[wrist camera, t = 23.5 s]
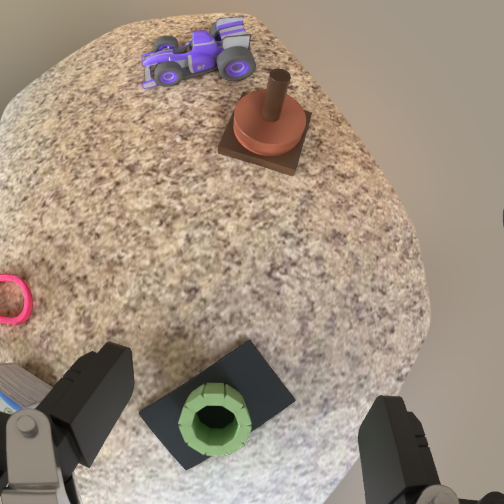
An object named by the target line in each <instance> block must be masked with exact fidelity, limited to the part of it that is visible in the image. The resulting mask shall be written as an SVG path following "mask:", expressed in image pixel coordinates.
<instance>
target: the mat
mask: <svg viewBox="0 0 504 504" xmlns="http://www.w3.org/2000/svg"><path fill="white" fill-rule="evenodd" d="M207 383H224V386H225V385H226V384H228V385H229V386H231V387H232V388H234V389H235V390H237V391H238V392H240V394H241V395H242V396H243V399H244V401H245V404H246V407H247V410H248V413H249V416H250V419H251V423H252V424H251V426H252V428H251V431H250V432H252V431H253V430H255V429H256V428H258V427H259V426H261V425H262V424H264V423H265V422H266V421H268V420H269V419H271V418H272V417H274V416H275V415H277V414H278V413H279V412H281V411H282V410H284V409H285V408H286V407H288V406H289V405H290V404H292V403H293V402H295V401H296V400H295V399H294V397H293V396H292V395H291V393H290V392H289V391H288V390H287V388H286V387H285V386H284V384H283V383H282V382H281V381H280V379H279V378H278V377H277V375H276V374H275V373H274V371H273V370H272V369H271V368H270V366H269V365H268V364H267V362H266V361H265V360H264V358H263V357H262V356H261V354H260V353H259V352H258V350H257V349H256V348H255V346H254V345H253V343H252V342H251V341H250V340H248V341H246V342H245V343H244V344H242V345H241V346H239V347H238V348H236V349H235V350H234V351H232V352H231V353H229V354H228V355H226V356H225V357H223V358H222V359H221V360H219V361H218V362H216V363H215V364H213V365H212V366H210V367H209V368H207V369H206V370H204V371H203V372H201V373H200V374H198V375H197V376H195V377H194V378H192V379H191V380H189V381H188V382H186V383H185V384H183V385H182V386H180V387H179V388H177V389H175V390H174V391H172V392H171V393H169V394H168V395H166V396H164V397H163V398H161V399H160V400H158V401H156V402H155V403H153V404H152V405H150V406H148V407H147V408H145V409H144V410H142V411H140V412H139V415H140V416H141V418H142V419H143V420H144V421H145V423H146V424H147V425H148V427H149V428H150V429H151V430H152V432H153V433H154V434H155V435H156V437H157V438H158V439H159V440H160V441H161V443H162V444H163V445H164V446H165V447H166V449H167V450H168V451H169V452H170V453H171V454H172V455H173V457H174V458H175V459H176V460H177V461H178V462H179V463H180V464H181V466H182V467H183V468H184V469H185V470H188V469H190V468H192V467H194V466H195V465H197V464H199V463H201V462H202V461H204V460H206V459H208V458H209V457H211V456H207V455H206V453H205V454H204V455H203V454H201V453H200V452H198V451H196V450H195V449H193V448H192V447H190V446H188V442H187V443H186V442H185V440H184V438H183V436H182V433H181V431H180V429H179V425H180V424H178V423H179V419H180V416H181V413H182V410H183V407H184V405H185V403H186V400H187V398H188V396H189V395H190V394H191V392H192V391H194V390H195V389H197V388H198V387H200V386H201V385H203V384H205V385H206V384H207ZM197 415H198V417H199V420H200V422H202V423H203V424H205V425H206V426H208V427H210V428H224V427H225V426H227V425H228V424H230V423H231V422H233V419H234V416H235V415H234V413H233V412H231V411H229V410H228V409H226V408H225V407H223V406H209V405H207V406H205V407H204V408H202V409H201V410H199V411H198V412H197Z"/></svg>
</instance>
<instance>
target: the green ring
mask: <svg viewBox="0 0 504 504" xmlns="http://www.w3.org/2000/svg"><path fill="white" fill-rule="evenodd" d="M207 405H209V406H223V407H225V408H226V409H228V410H229V411H231V412H233V413H234V415H235V416H234V419H233V422H231V423H230V424H228V425H227V426H225V427H224V428H210V427H208V426H206V425H205V424H203V423H202V422H200V420H199V417H198V415H197V412H198V411H199V410H201V409H202V408H204V407H205V406H207ZM178 424H180V425H179V429H180V431H181V433H182V436H183V438H184V440H185V442H186V443H187V442H188V446H190V447H192V448H193V449H195V450H196V451H198V452H200V453H201V454H203V455H204V454H205V453H206V455H207V456H226V453H227V454H228V455H230V454H232V453H233V452H235V451H236V450H238V449H239V448H241V447H243V446H244V443H246V442H247V439H248V437H249V434H250V431H251V428H252V426H251V424H252V423H251V419H250V416H249V413H248V410H247V407H246V404H245V401H244V399H243V396H242V395H241V394H240V392H238V391H237V390H235V389H234V388H232V387H231V386H229V385H228V384H226V385H225V386H224V383H207V384H206V385H205V384H203V385H201V386H200V387H198V388H197V389H195V390H194V391H192V392H191V394H190V395H189V396H188V398H187V400H186V403H185V405H184V407H183V410H182V413H181V416H180V419H179V423H178Z"/></svg>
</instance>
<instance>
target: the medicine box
mask: <svg viewBox="0 0 504 504" xmlns="http://www.w3.org/2000/svg"><path fill="white" fill-rule="evenodd" d="M52 388H53V387H52V386H50V385H48V384H47V383H45V382H44V381H42V380H40V379H39V378H37V377H36V376H34V375H33V374H31V373H30V372H28V371H27V370H25V369H24V368H22V367H21V366H20V365H18V364H17V363H16V362H12V363H2V364H0V411H1V412H5V413H9V414H13V413H14V412H16V411H18V410H20V409H25V408H32V409H35V408H36V407H37V406H38V405H39V404H40V402H41V401H42V400H43V399H44V398H45V396H46V395H47V394H48V393H49V392H50V390H51V389H52Z"/></svg>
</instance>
